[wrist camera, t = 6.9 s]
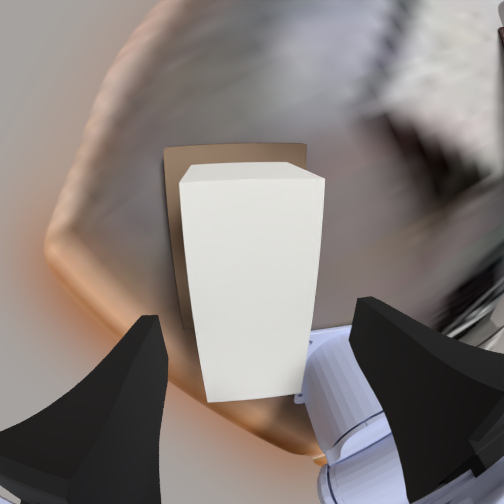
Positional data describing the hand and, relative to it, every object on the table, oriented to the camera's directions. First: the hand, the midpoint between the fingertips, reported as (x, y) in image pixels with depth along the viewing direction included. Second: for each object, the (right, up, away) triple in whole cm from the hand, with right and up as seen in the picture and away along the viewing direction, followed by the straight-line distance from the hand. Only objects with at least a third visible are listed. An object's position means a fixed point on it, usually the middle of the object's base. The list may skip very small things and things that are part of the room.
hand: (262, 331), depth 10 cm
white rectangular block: (-1, +2, +5) cm, 6 cm away
